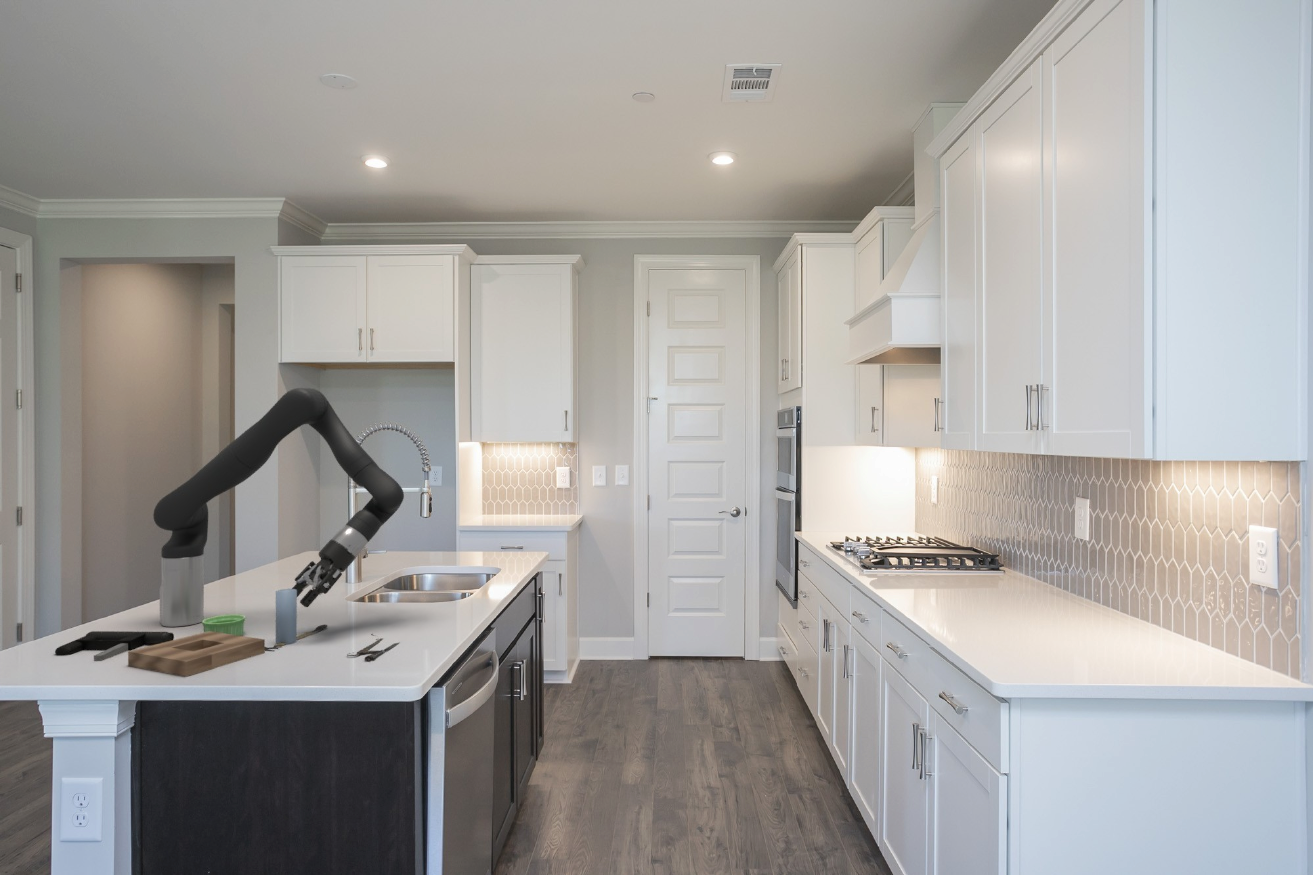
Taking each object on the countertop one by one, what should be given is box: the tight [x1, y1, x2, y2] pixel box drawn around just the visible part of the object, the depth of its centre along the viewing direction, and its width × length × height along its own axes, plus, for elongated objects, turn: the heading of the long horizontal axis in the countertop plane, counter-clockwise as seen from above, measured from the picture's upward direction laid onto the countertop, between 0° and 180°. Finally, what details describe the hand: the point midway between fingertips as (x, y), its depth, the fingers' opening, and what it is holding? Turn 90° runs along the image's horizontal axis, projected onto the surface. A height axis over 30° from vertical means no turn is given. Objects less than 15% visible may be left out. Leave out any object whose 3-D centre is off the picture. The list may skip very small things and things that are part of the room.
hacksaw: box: [346, 633, 400, 662], centre depth 173 cm, size 24×10×2 cm, turn 176°
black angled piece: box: [54, 630, 175, 662], centre depth 170 cm, size 3×20×16 cm
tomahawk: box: [265, 624, 328, 652], centre depth 179 cm, size 21×7×1 cm, turn 166°
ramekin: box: [201, 614, 246, 636], centre depth 181 cm, size 9×9×4 cm
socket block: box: [127, 631, 266, 677], centre depth 163 cm, size 18×18×3 cm
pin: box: [275, 588, 298, 646], centre depth 176 cm, size 4×4×12 cm
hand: (295, 602), depth 178 cm, fingers open, 8 cm apart
